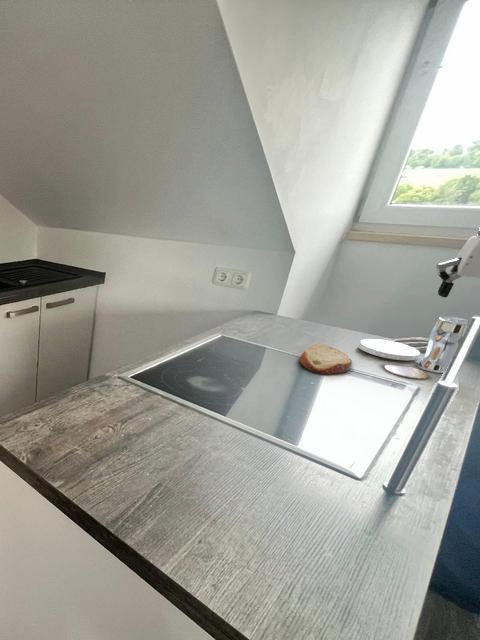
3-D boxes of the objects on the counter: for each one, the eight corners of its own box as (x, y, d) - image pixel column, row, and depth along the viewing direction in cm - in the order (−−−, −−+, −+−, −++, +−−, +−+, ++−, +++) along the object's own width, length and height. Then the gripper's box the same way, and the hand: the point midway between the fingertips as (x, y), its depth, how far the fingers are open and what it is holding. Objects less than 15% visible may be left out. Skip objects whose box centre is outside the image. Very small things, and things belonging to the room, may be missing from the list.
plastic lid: (425, 366, 115) (429, 359, 114) (365, 358, 120) (368, 351, 119) (405, 349, 126) (408, 342, 125) (351, 343, 132) (354, 336, 131)
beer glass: (444, 367, 114) (469, 318, 108) (453, 376, 109) (480, 325, 103) (412, 361, 118) (434, 314, 112) (419, 370, 112) (443, 321, 106)
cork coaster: (418, 368, 114) (419, 367, 113) (433, 381, 106) (434, 380, 106) (379, 363, 117) (379, 362, 117) (391, 375, 110) (391, 374, 110)
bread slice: (326, 349, 127) (330, 338, 125) (376, 374, 111) (381, 362, 109) (272, 350, 127) (275, 340, 125) (314, 375, 110) (319, 363, 109)
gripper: (539, 232, 97) (502, 298, 104) (446, 229, 104) (417, 291, 111) (562, 236, 91) (521, 306, 98) (462, 232, 98) (430, 298, 105)
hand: (466, 298), depth 105 cm, fingers open, 9 cm apart
